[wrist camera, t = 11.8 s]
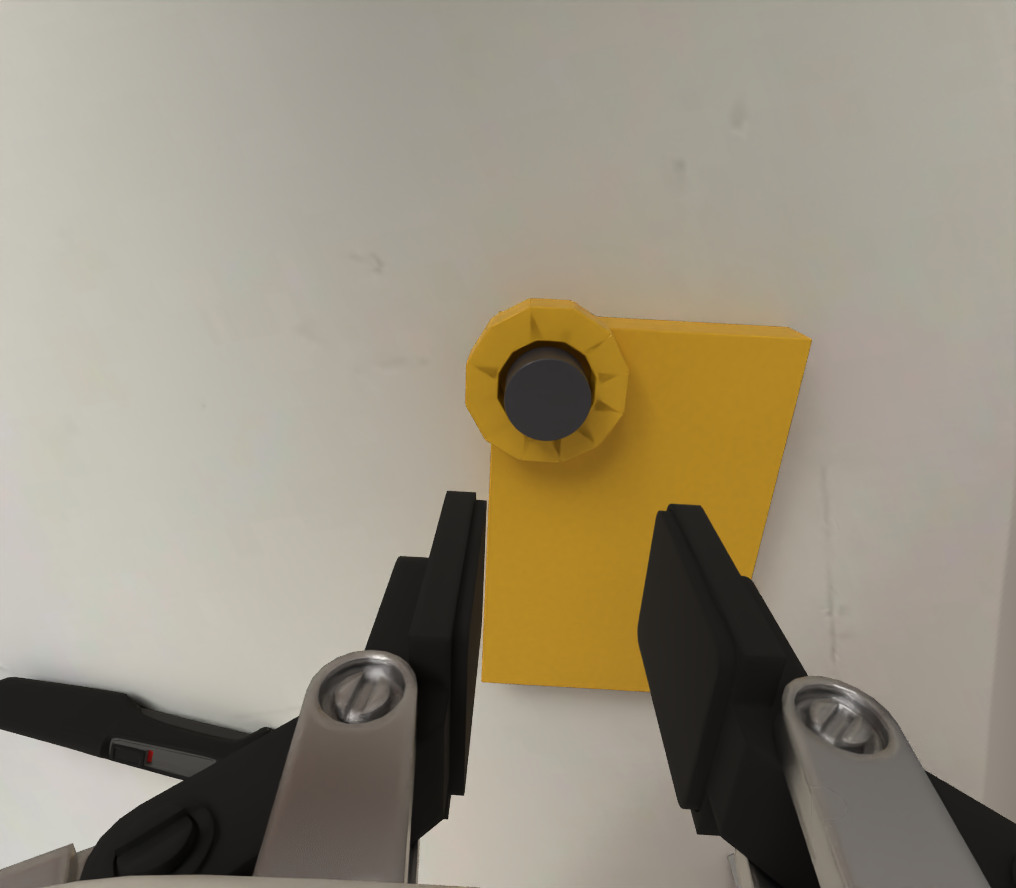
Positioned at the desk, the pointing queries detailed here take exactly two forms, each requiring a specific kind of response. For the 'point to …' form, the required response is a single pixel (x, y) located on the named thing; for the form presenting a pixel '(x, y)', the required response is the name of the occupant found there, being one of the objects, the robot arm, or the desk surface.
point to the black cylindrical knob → (547, 394)
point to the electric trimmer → (115, 727)
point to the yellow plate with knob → (619, 477)
